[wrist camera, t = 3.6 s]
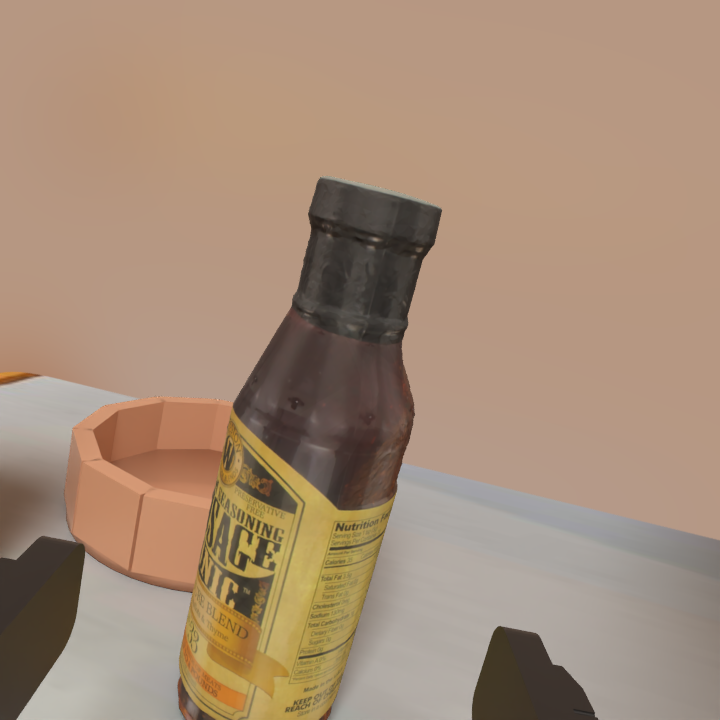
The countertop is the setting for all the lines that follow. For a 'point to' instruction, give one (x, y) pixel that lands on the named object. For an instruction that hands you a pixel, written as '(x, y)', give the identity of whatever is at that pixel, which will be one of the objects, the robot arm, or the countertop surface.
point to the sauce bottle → (309, 469)
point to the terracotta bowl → (146, 485)
